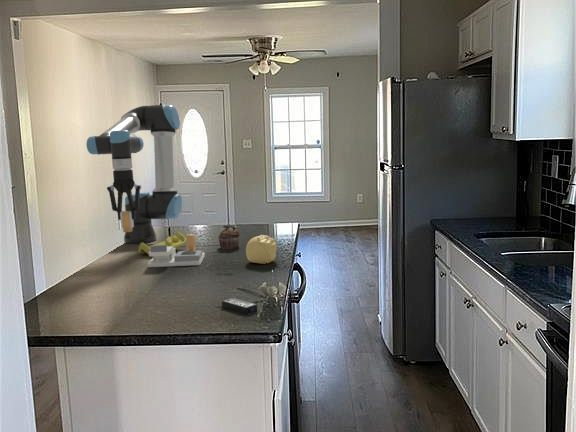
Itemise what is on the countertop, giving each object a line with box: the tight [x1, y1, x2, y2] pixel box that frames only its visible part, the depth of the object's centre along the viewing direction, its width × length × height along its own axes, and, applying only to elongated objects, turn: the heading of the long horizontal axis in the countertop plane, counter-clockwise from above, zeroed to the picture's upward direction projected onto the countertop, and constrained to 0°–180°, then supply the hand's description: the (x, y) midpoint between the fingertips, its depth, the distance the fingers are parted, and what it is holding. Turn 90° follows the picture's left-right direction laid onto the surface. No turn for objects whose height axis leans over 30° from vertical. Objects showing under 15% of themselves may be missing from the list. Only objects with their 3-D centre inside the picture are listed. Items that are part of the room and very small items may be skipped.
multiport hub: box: [221, 297, 258, 316], centre depth 159 cm, size 4×11×2 cm, turn 45°
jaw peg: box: [121, 210, 133, 233], centre depth 225 cm, size 4×4×8 cm
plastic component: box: [137, 231, 186, 258], centre depth 242 cm, size 20×7×10 cm
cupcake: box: [217, 224, 241, 250], centre depth 246 cm, size 10×10×10 cm
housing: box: [147, 233, 206, 268], centre depth 222 cm, size 16×20×10 cm
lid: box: [148, 244, 173, 257], centre depth 217 cm, size 10×7×4 cm
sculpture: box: [245, 234, 278, 265], centre depth 215 cm, size 12×12×11 cm
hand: (127, 227), depth 225 cm, fingers closed on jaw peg, 3 cm apart
